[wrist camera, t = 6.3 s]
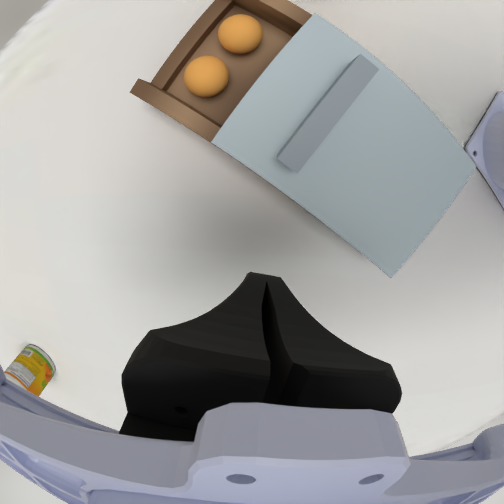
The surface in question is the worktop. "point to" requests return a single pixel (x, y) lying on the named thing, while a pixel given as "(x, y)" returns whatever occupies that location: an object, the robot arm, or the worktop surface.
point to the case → (239, 65)
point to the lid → (348, 144)
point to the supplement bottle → (31, 370)
